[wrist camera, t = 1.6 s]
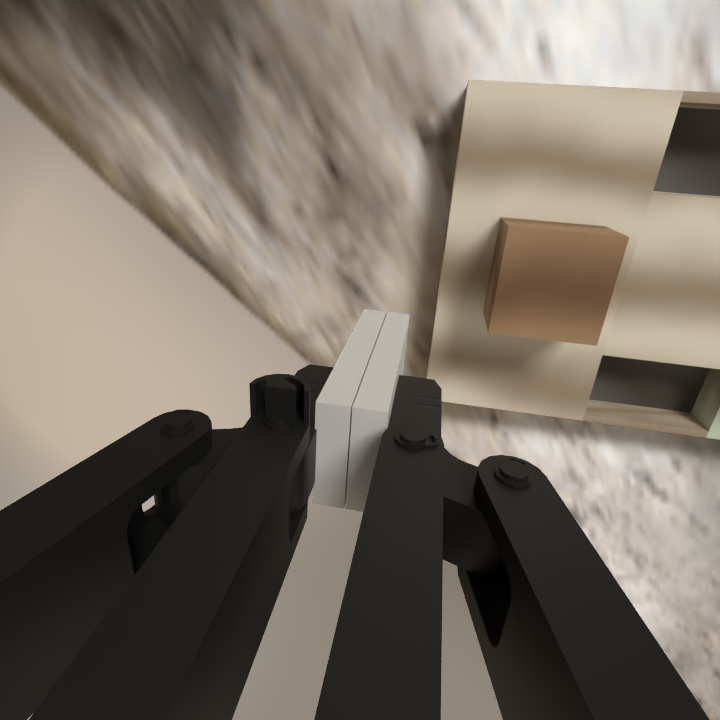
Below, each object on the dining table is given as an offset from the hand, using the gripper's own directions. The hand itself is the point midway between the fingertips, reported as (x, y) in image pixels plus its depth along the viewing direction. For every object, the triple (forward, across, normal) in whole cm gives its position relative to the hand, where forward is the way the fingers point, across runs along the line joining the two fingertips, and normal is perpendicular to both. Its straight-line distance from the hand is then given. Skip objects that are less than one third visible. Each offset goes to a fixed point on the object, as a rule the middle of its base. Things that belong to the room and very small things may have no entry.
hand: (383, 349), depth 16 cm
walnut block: (+15, +8, 0) cm, 17 cm away
